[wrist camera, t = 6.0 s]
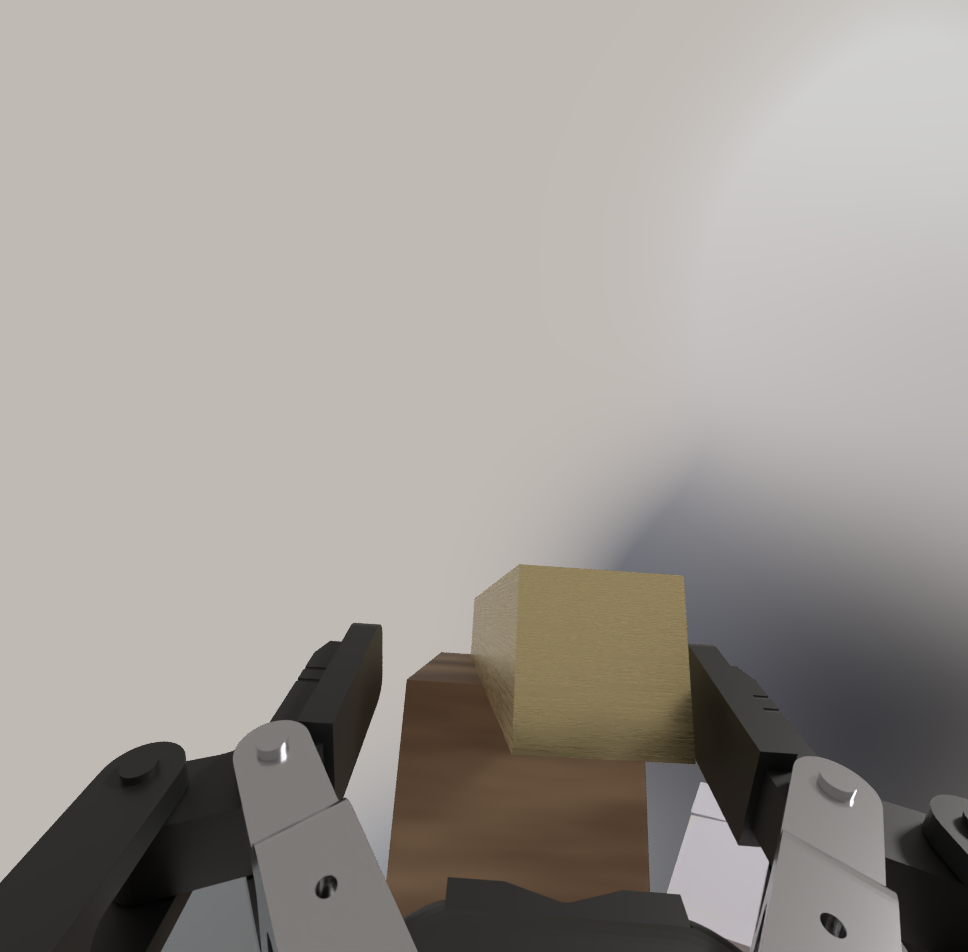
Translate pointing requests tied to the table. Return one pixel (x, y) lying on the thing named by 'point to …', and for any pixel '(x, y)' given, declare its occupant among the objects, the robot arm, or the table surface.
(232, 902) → the block
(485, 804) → the stand
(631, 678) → the bar
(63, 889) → the robot arm
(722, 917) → the game console
